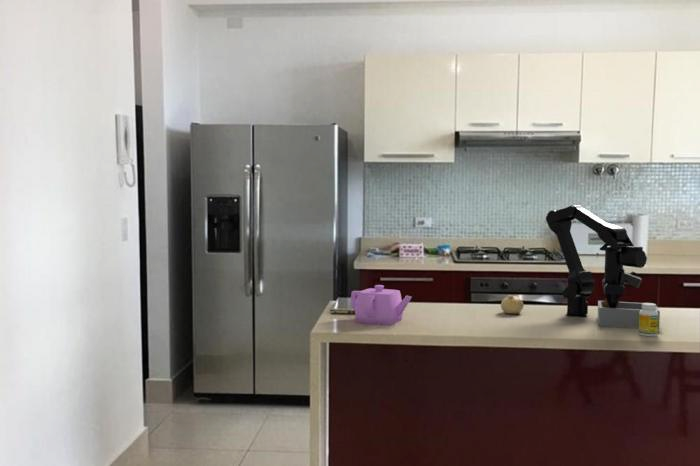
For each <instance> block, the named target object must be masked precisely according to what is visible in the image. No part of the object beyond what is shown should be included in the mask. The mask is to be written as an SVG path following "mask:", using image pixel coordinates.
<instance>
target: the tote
mask: <svg viewBox="0 0 700 466" xmlns="http://www.w3.org/2000/svg"><path fill="white" fill-rule="evenodd" d="M604 301H605V300H597V322H598V326H599V327H614V328H624V329H625V328H627V329H628V328H629V329H639V312H640V310H643V308H642V303H643V302H631V301H630V302H628V301H619V308H604V307H602V305H603V303H604ZM655 311H657V312H658V331H659V330H660V319H661V318H660V316H661V315H660V314H661V311H660V309H659V308H658V305H656V309H655Z"/></svg>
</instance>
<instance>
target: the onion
mask: <svg viewBox="0 0 700 466" xmlns="http://www.w3.org/2000/svg"><path fill="white" fill-rule="evenodd" d="M500 303H501V304H500V308H501V310H502V311H503V313H504V314H516V315H517V314H520V313H521V312H522V311H523V309H524V302H523V300H522V299H521V298H520V297H519V296H516V295H510V294H507V296H505V297H504V298H503V299H502V300H501V302H500Z"/></svg>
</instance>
